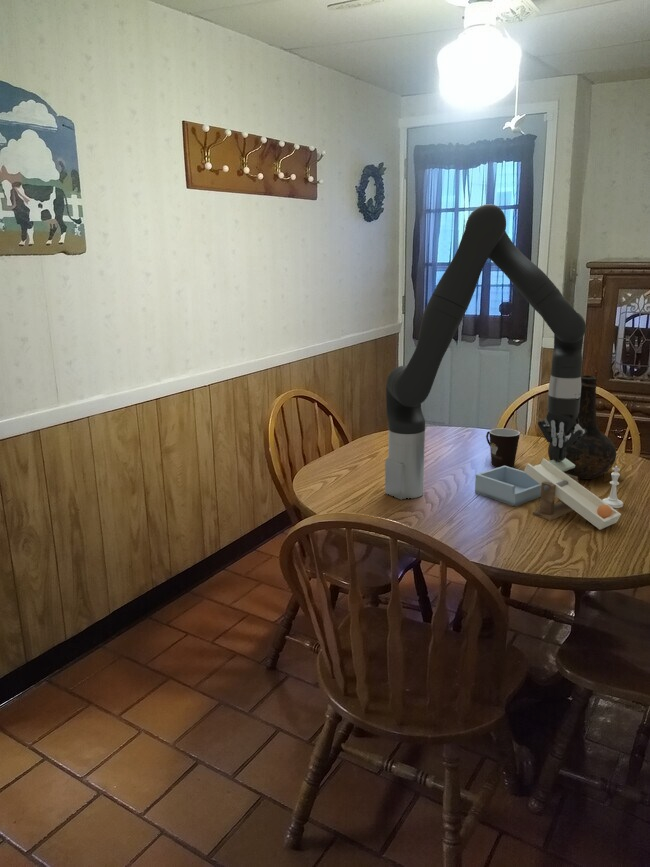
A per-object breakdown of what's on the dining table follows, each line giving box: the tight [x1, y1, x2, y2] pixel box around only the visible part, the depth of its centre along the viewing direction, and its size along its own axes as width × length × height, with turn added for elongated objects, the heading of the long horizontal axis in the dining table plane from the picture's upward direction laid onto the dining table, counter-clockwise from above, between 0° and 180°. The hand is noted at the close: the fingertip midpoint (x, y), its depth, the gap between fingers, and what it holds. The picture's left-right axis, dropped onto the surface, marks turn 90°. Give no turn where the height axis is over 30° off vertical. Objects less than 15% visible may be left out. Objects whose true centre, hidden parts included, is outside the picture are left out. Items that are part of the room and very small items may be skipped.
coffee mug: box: [485, 427, 521, 468], centre depth 195 cm, size 12×9×10 cm
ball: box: [597, 505, 612, 519], centre depth 151 cm, size 3×3×3 cm
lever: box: [523, 457, 622, 530], centre depth 160 cm, size 23×16×2 cm
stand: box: [532, 474, 579, 521], centre depth 160 cm, size 5×13×8 cm, turn 127°
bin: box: [474, 466, 542, 507], centre depth 171 cm, size 12×13×5 cm
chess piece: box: [601, 465, 624, 509], centre depth 163 cm, size 5×5×10 cm
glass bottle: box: [547, 374, 617, 480], centre depth 183 cm, size 18×18×28 cm
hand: (558, 460), depth 169 cm, fingers closed
